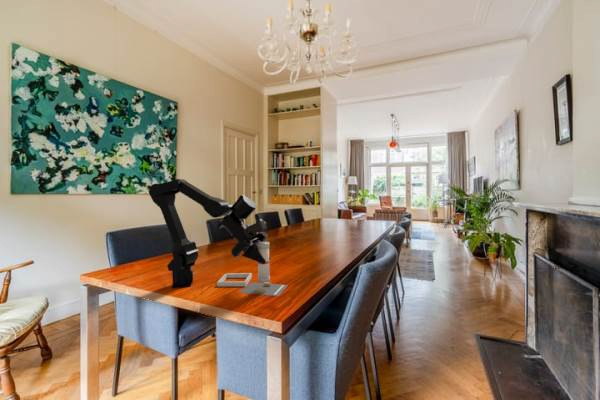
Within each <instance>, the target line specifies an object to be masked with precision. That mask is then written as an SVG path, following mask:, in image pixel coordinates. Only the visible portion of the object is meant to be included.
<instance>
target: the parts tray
mask: <svg viewBox="0 0 600 400" xmlns="http://www.w3.org/2000/svg"><path fill="white" fill-rule="evenodd" d="M252 276H253V273H252V272H249V273H248V272H244V273H243V272H241V273H240V272H239V273H233V272H232V273H228V272H227V273H225V274H224V275H223V276H222V277H221V278H220V279H219V280H218V281H217V282H216V287H246V286H247V285H249V282H250V281H251V279H252V278H253V277H252ZM229 278H230V279H235V278H236V279H237V278H238V279H242V278H245V280H244V281H240V280H238V281H237V280H236V281H231V280H230V281H229V280H228V281H226V280H227V279H229Z"/></svg>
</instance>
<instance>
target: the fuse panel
mask: <svg viewBox="0 0 600 400" xmlns="http://www.w3.org/2000/svg"><path fill="white" fill-rule="evenodd" d="M287 287H288V284H275V283H272V282H264V283H261V282H253V281H252V282H250V283H248V284H247V285H246V286H244V287H243V288H242V289H241V290H239V291H238V293H241V294H250V295H251V294H252V295H260V296H261V295H262V296H272V297H273V296H275V297H279V296H280V295H281V294H282V293H283V291H284V290H285V289H286V288H287Z"/></svg>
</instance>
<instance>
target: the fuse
mask: <svg viewBox="0 0 600 400" xmlns="http://www.w3.org/2000/svg"><path fill="white" fill-rule="evenodd" d="M257 248H258V251H259V252H260V254H261V255H262V256H263V258H264V259H265V261H266V263H265V264H262V263H259V262H257V283H264V282H267V283H270V281H271V275H270V260H269V256H270V248H271V247H270V242H269V241H265V242H258V243H257Z"/></svg>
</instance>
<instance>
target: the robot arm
mask: <svg viewBox="0 0 600 400" xmlns="http://www.w3.org/2000/svg"><path fill="white" fill-rule="evenodd" d="M179 193H180V194H183V195H184V196H185V197H187V198H189V199H190V200H192V201H194V202H195V203H197V204H199V205H200V206H201V207H202V208H203V211H205V213H206V214H208V215H209V216H210V217H212V218H214V219H215V218H220V217H223V218H221V219H220V220H219V219H218V220H217V225H216V228H217V229H221V228H225V229H226V231H228V232H229V234H230V238H231V239H232V240H236V241H237V243H236V244H234V246H233V247H232V248H231V251H230V253H231V255H232V256H233V257H234V258H235V259H236V258H238V257H240V256H241V257H242V258H243V257H244V258H247V259H250V260H252V261H255V262H257V263H258V262H259V263H262V264H265V263H266V261H265V259H264V258H263V256H262V255H261V254H260V252H259V251H258V248H257V243H258V242H266V239H267V238H268V237H269V234H267V233H266V232H265V230H267V229H268V227H267V222H266V221H265V220H263V219H262V218H260V219H258V220H256V221H255V223H252V224H251V225H250V224H248V223H246V224H245V223H244V222H243V220H247V219H248V218H249V217H250V216H251V214H252V213H253V212H254V211H255V210H256V209H257V207H258V205H257V204H256V203H255V201H254V200H252V199H250V198H249V197H247V196H246V195H245V194H241V195H239V196H238V198H237V200H236V201H235V202H234V203H233V204H231V203H229V202H228V201H227V200H224V199H221V198H219V197H215V196H212V195H210V194H207V193H206V192H204V191H203V190H201V189H200V188H198V187H196V186H194V185H193V184H191V183H190V182H188V181H187V180H186V179H183V178H175V179H173V180H170V181H165V182H162V183H153V184H151V185H150V187H149V189H148V194H149V197H150V198H151V200H152V202H153V203H154V204H155V205H156V206H157V207H158V208H159V209H160V211H161V213H162V216H163V219H164V221H165V225H166V227H167V229H168V232H169V235H170V238H171V241H172V243H173V247H172V252H171V253H172V259H171V261H169V263H168V264H167V265H166V266H167V269H168V271H169V272H171V274H172V278H171V279H172V284H171V289H174V288H175V289H176V288H184V287H185V288H186V287H191V286H192V284H193V282H194V269H192V267H194V266H195V264H196V261H197V260H198V258H199V252H200V251H199V249H198V248H197V244H196V242H195V241H190V240H189V239H188V237H187V234H186V232H185V229H184V226H183V223H182V221H181V219H180V216H179V214H178V210H177V208H176V205H175V201H176V194H179ZM241 252H242V254H241ZM269 261H271V257H270V255H269Z"/></svg>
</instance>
